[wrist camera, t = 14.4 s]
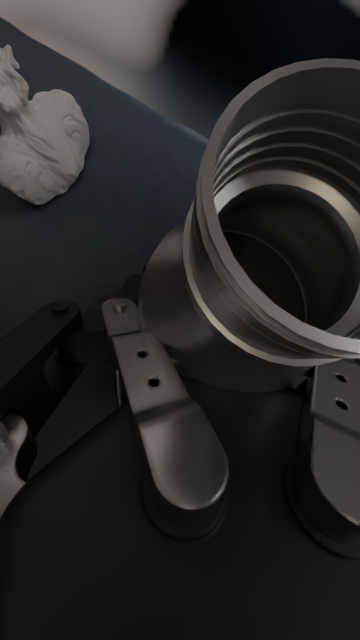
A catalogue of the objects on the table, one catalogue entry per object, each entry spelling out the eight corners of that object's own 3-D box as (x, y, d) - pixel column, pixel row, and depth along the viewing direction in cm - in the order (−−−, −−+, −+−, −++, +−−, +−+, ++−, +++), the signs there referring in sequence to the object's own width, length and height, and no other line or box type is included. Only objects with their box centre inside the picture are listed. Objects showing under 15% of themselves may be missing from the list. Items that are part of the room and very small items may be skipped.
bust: (89, 147, 31) (-6, 31, 22) (120, 136, 26) (14, -20, 17) (34, 219, 29) (-92, 122, 20) (57, 221, 24) (-97, 94, 15)
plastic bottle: (227, 306, 23) (570, -3, 3) (223, 377, 22) (714, 551, 2) (161, 300, 23) (108, -65, 3) (154, 371, 22) (0, 505, 2)
